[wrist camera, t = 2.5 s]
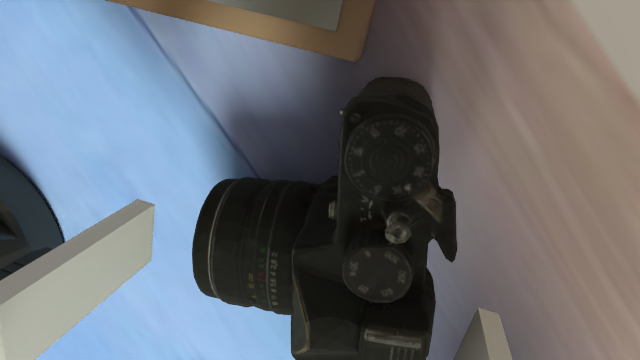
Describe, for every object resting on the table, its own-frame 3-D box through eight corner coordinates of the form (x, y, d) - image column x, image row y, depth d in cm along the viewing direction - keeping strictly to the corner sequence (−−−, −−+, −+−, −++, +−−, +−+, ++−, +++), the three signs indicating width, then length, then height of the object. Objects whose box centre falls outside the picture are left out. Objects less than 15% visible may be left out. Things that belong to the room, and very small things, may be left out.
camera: (241, 63, 21) (108, 88, 12) (454, 79, 19) (498, 124, 10) (245, 287, 26) (154, 430, 17) (414, 317, 24) (417, 496, 15)
